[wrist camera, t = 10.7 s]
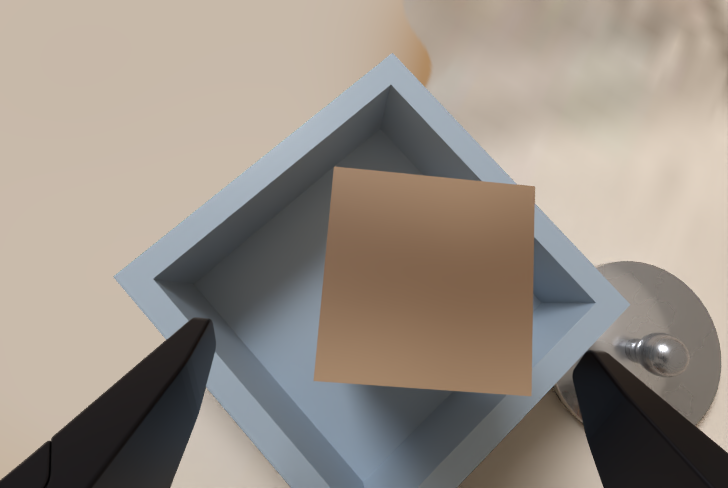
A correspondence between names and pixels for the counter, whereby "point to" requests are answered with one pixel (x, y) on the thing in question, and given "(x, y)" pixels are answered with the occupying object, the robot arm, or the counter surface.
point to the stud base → (659, 317)
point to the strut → (427, 283)
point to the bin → (304, 291)
